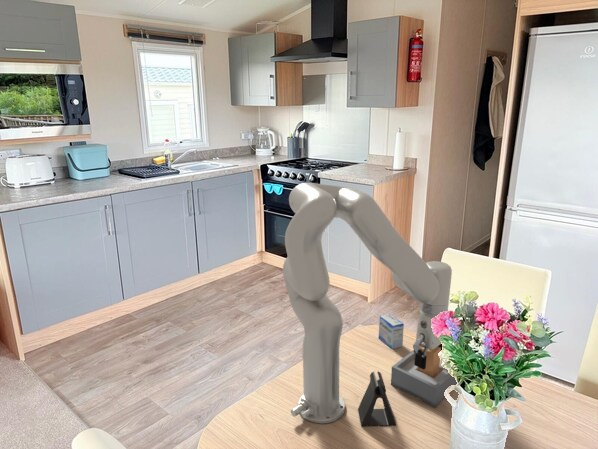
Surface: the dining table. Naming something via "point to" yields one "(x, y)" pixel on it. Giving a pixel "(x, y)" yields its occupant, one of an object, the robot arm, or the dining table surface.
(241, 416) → the dining table surface
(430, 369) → the peg
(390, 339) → the medicine box
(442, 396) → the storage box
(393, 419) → the black triangular stand
